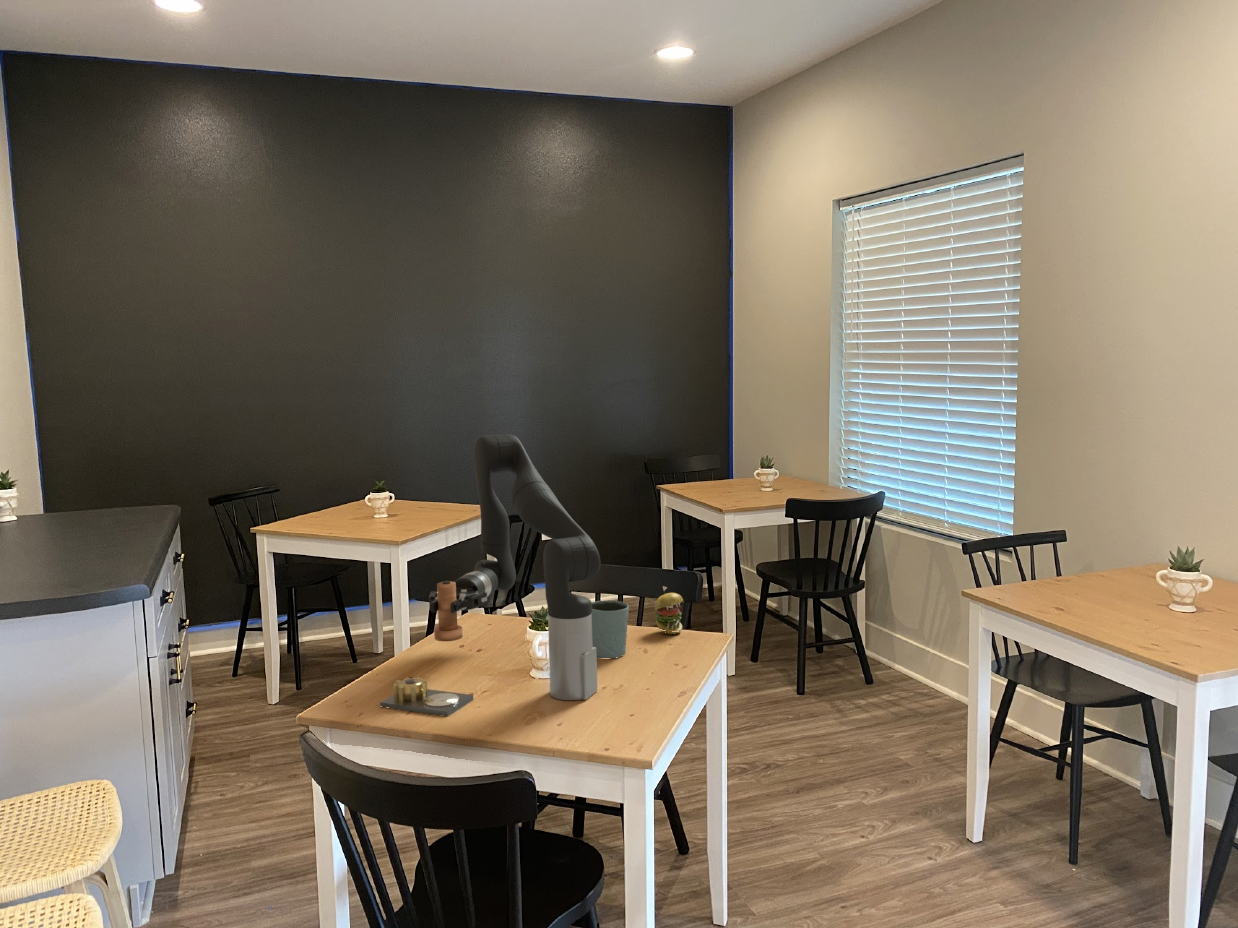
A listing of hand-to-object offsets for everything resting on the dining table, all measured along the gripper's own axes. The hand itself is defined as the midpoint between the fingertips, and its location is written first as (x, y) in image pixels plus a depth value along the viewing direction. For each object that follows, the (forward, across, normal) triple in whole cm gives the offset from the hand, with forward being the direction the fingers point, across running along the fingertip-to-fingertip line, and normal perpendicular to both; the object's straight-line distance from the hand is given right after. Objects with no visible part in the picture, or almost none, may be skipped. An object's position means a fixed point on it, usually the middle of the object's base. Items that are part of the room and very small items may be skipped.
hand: (442, 608), depth 196 cm
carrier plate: (+9, 0, +18) cm, 20 cm away
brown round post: (-3, 0, +7) cm, 8 cm away
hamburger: (-49, +42, +18) cm, 67 cm away
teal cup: (-29, +30, +18) cm, 45 cm away
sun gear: (+9, -4, +18) cm, 20 cm away
